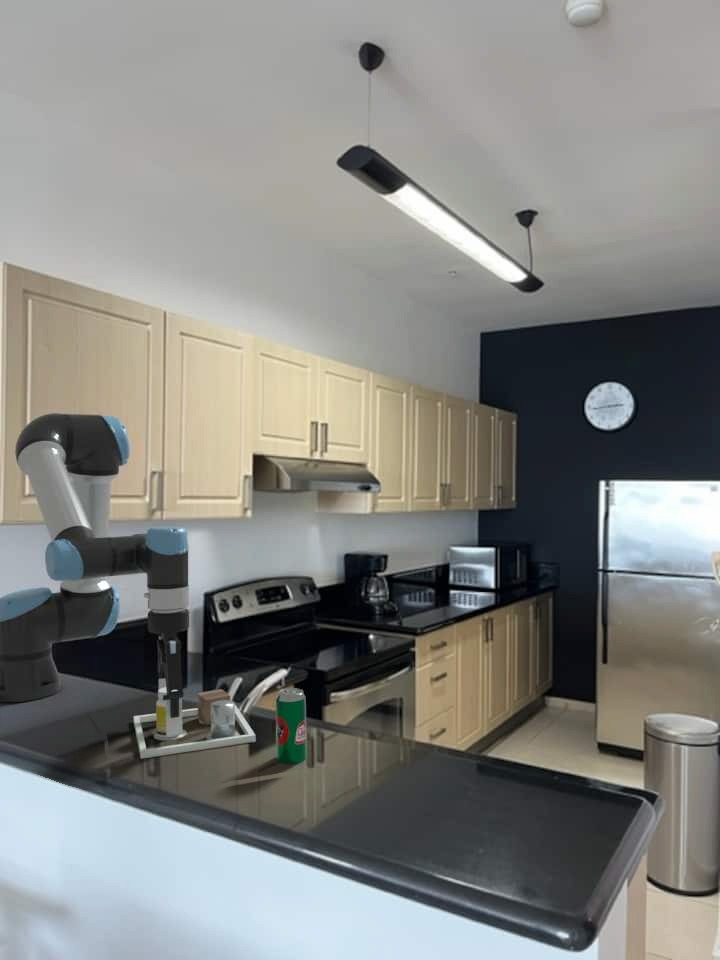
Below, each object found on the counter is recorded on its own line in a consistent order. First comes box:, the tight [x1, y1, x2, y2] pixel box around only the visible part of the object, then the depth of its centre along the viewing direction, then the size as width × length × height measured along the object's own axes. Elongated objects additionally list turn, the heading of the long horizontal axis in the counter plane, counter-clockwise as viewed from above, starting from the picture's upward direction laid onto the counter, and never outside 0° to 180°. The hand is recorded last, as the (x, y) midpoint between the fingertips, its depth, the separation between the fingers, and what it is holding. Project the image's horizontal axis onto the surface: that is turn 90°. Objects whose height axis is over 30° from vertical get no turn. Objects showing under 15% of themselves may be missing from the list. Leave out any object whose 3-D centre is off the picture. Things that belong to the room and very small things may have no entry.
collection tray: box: [133, 704, 257, 760], centre depth 135 cm, size 20×20×2 cm
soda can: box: [275, 687, 308, 765], centre depth 122 cm, size 5×5×12 cm
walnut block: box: [197, 688, 231, 726], centre depth 142 cm, size 5×5×5 cm
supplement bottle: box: [155, 687, 180, 738], centre depth 134 cm, size 5×5×8 cm
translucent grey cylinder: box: [210, 699, 236, 739], centre depth 132 cm, size 4×4×6 cm
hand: (170, 722), depth 134 cm, fingers open, 13 cm apart
